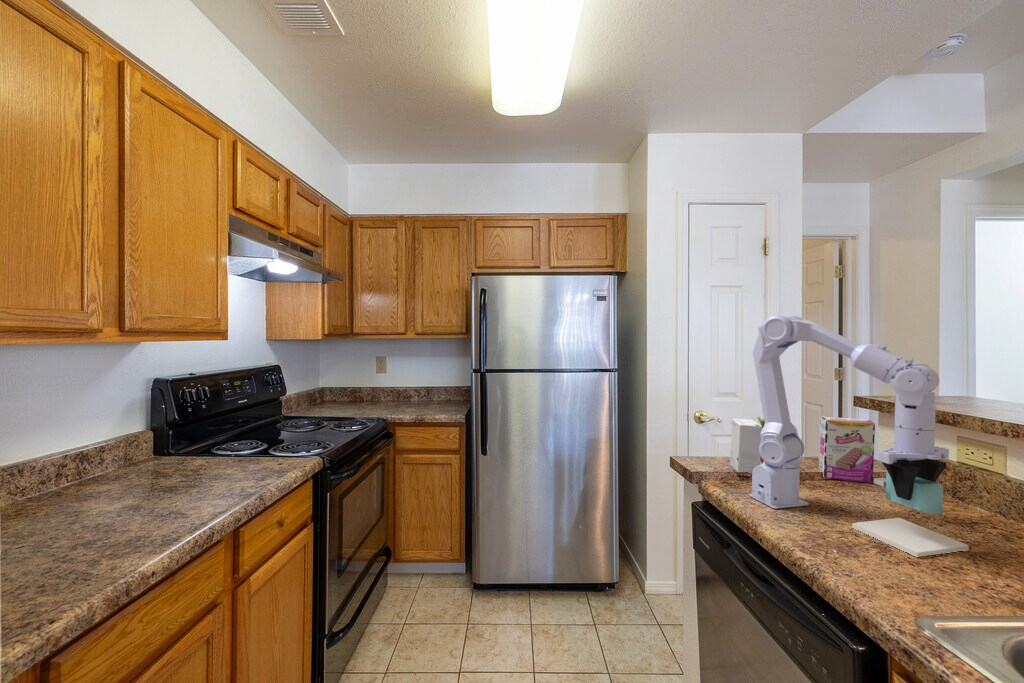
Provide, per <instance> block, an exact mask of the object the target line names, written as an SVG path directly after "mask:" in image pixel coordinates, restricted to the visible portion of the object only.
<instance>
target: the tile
mask: <svg viewBox="0 0 1024 683" xmlns="http://www.w3.org/2000/svg"><path fill="white" fill-rule="evenodd" d="M851 527H852V529H853V528H854V530H855V531H858V530H859V531H858V532H860V531H861V532H860V533H862V532H863V533H862V534H864V533H865V534H864V535H866V534H867V535H866V536H868V535H869V536H868V537H871V538H873V537H874V538H873V539H875V538H876V539H875V540H877V539H878V541H879V540H880V542H881V541H882V543H883V542H884V543H883V544H886V545H888V544H889V545H888V546H890V545H891V546H890V547H892V546H894V547H896V548H898V549H900V550H899V551H901V550H902V551H901V552H903V551H904V552H903V553H905V552H907V553H909V554H911V555H913V556H916V557H919V556H925V555H932V554H941V553H947V552H954V551H962V550H970V549H969V548H970V546H969V545H968V544H967V543H963V542H961V541H958V540H956V539H953V538H951V537H949V536H946V535H943V534H940V533H938V532H936V531H933V530H930V529H929V528H926V527H923V526H921V525H918V524H916V523H913V522H911V521H908V520H905V519H904V518H903V519H902V518H901V517H893V518H885V519H884V518H883V519H877V520H876V519H874V520H868V521H859V522H851ZM894 547H893V548H894ZM896 548H895V549H896ZM898 549H897V550H898ZM907 553H906V554H907ZM909 554H908V555H909ZM911 555H910V556H911ZM913 556H912V557H913ZM916 557H915V558H916Z"/></svg>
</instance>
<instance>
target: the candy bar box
mask: <svg viewBox="0 0 1024 683" xmlns="http://www.w3.org/2000/svg"><path fill="white" fill-rule="evenodd" d="M819 421H820V423H819V424H820V425H819V427H820V428H819V451H818V453H819V456H818V470H819V469H820V470H821V471H822V472H823V477H824V478H823V477H822V478H823V479H824V480H835V481H844V482H845V481H846V482H854V483H855V482H857V483H867V484H874V461H875V460H874V459H875V436H876V435H875V433H876V423H875V422H874V421H872V420H870V419H865V418H853V417H852V418H849V417H846V418H845V417H838V416H837V417H836V416H835V417H834V416H820V420H819Z"/></svg>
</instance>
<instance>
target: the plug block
mask: <svg viewBox="0 0 1024 683" xmlns="http://www.w3.org/2000/svg"><path fill="white" fill-rule="evenodd" d="M873 484H875V485H878V486H880V487H883V488H885V499H887V500H889V501H891V502H894V503H895V504H899V505H902V506H905V507H908V508H910V509H912V510H916V511H919V512H921V513H925V514H930V515H942V514H943V513H944V512H943V511H944V510H943V505H944V503H943V502H944V501H943V500H944V485H943V484H941V483H939V482H937V481H936V482H932V481H929V480H926V479H922V478H919V477H916V478H915V481H914V486H913V494H912V498H911V500H905V499H902V498H899V497H897V495H896V492H895V489H894V485H893V482H892V479H891V477H890V475H889V473H888V471H886V472H885V477H873Z"/></svg>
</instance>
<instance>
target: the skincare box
mask: <svg viewBox="0 0 1024 683" xmlns="http://www.w3.org/2000/svg"><path fill="white" fill-rule="evenodd" d="M761 431H762V426H761V424H759V422H756V421H755V420H753V419H749V418H736V417H735V418H731V440H730V456H729V457H730V460H729V466H730V465H731V466H733V467H734V468H735V469H736V470H737V471H745V472H750V473H752V472H753V469H754V468H755V467H756V466H758V465H761V461H760V457H761V455H760V453H759V446H760V443H761V435H760V434H761Z"/></svg>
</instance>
